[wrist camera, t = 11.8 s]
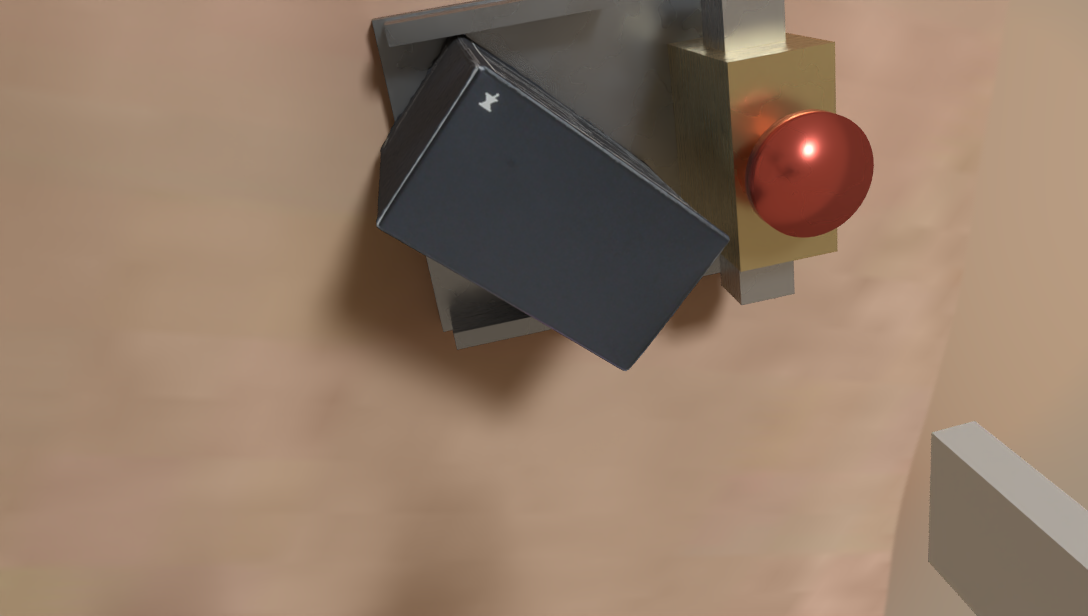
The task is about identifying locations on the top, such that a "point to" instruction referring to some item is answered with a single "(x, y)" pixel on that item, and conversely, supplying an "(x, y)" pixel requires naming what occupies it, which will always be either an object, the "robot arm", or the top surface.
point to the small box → (539, 206)
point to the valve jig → (668, 122)
